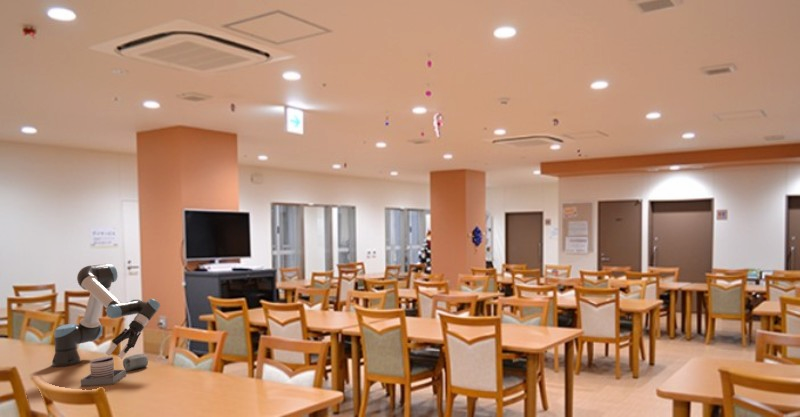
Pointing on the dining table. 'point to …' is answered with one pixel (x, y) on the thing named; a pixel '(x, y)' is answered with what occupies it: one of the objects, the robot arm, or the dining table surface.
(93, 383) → the tray
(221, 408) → the dining table surface
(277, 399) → the dining table surface
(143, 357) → the spool
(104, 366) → the can
